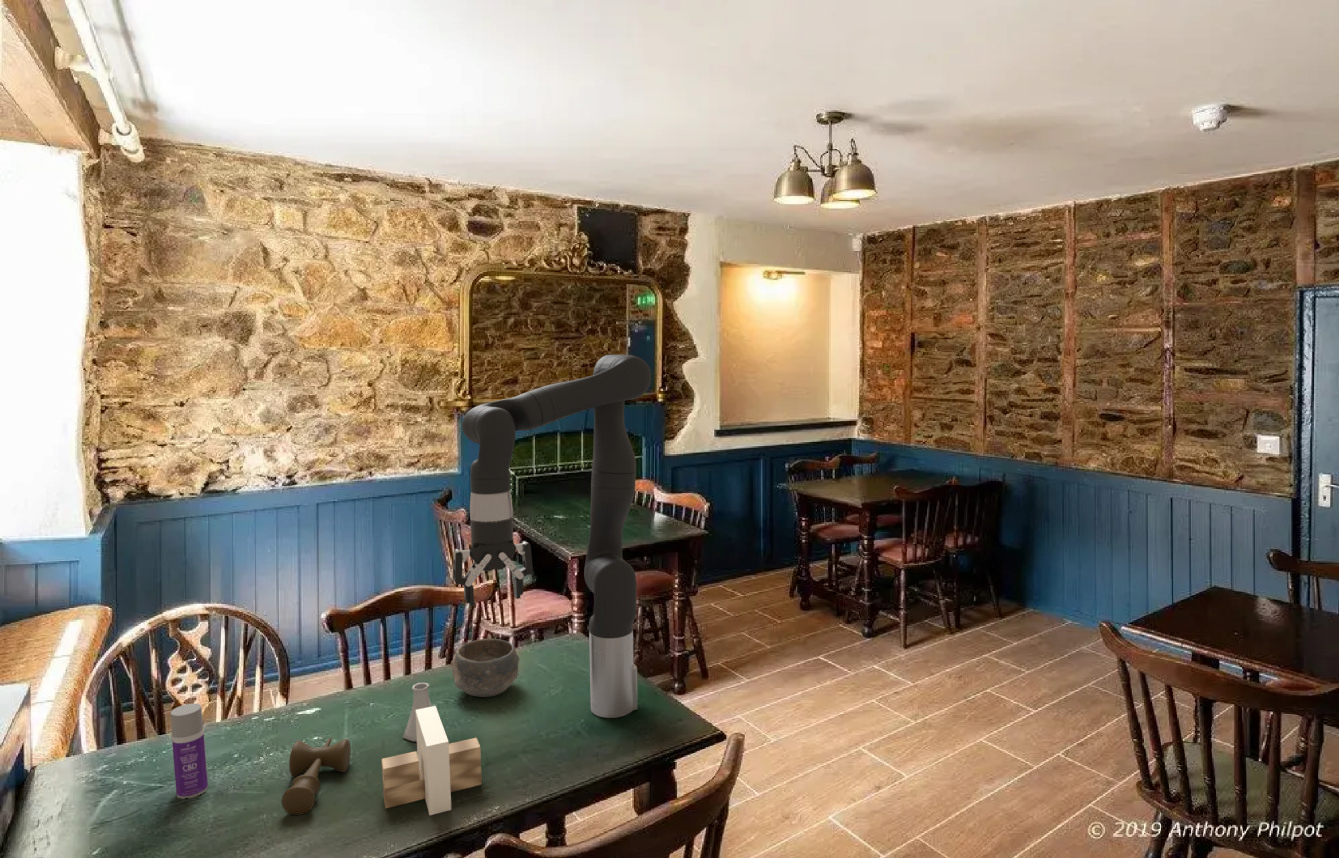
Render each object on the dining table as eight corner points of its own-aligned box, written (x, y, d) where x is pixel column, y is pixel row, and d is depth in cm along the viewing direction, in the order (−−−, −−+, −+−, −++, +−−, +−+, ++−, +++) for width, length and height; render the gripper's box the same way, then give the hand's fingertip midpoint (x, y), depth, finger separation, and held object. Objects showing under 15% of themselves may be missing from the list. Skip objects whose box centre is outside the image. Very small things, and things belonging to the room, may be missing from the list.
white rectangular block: (418, 772, 137) (415, 709, 135) (438, 768, 138) (435, 705, 137) (429, 815, 124) (426, 746, 123) (451, 809, 126) (448, 741, 124)
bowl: (467, 676, 177) (466, 635, 176) (530, 679, 175) (529, 638, 174) (441, 704, 163) (440, 659, 162) (510, 708, 161) (508, 663, 160)
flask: (430, 744, 146) (427, 695, 145) (396, 741, 148) (394, 692, 147) (448, 726, 154) (446, 679, 152) (415, 723, 155) (413, 676, 154)
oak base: (477, 774, 136) (476, 737, 135) (481, 784, 133) (480, 746, 132) (383, 797, 129) (381, 758, 128) (385, 808, 126) (383, 768, 125)
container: (184, 802, 128) (178, 718, 127) (171, 793, 131) (164, 711, 129) (213, 788, 132) (207, 707, 131) (199, 780, 135) (193, 700, 133)
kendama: (266, 822, 124) (304, 754, 143) (328, 817, 125) (357, 751, 145) (264, 788, 123) (303, 725, 142) (327, 784, 124) (356, 722, 144)
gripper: (524, 507, 144) (526, 589, 146) (448, 515, 138) (451, 600, 140) (535, 515, 137) (537, 601, 139) (455, 523, 131) (458, 613, 133)
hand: (494, 601), depth 139 cm, fingers open, 8 cm apart
